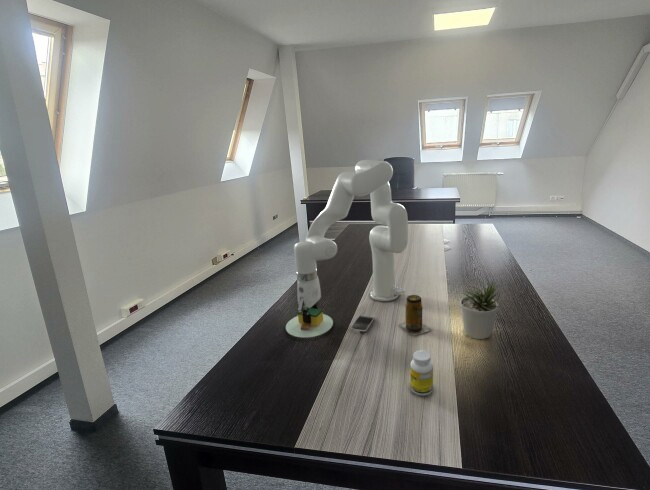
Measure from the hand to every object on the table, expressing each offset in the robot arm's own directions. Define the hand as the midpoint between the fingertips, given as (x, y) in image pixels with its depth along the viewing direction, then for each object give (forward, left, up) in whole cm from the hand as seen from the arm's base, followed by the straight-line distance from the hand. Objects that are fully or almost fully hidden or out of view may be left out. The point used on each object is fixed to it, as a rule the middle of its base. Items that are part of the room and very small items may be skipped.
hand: (310, 318), depth 138 cm
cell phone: (-19, -5, -3) cm, 20 cm away
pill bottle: (-47, +22, -3) cm, 52 cm away
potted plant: (-60, -12, -3) cm, 61 cm away
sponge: (0, 0, -1) cm, 1 cm away
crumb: (0, +4, -2) cm, 5 cm away
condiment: (-38, -9, -3) cm, 39 cm away
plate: (0, +2, -3) cm, 3 cm away
